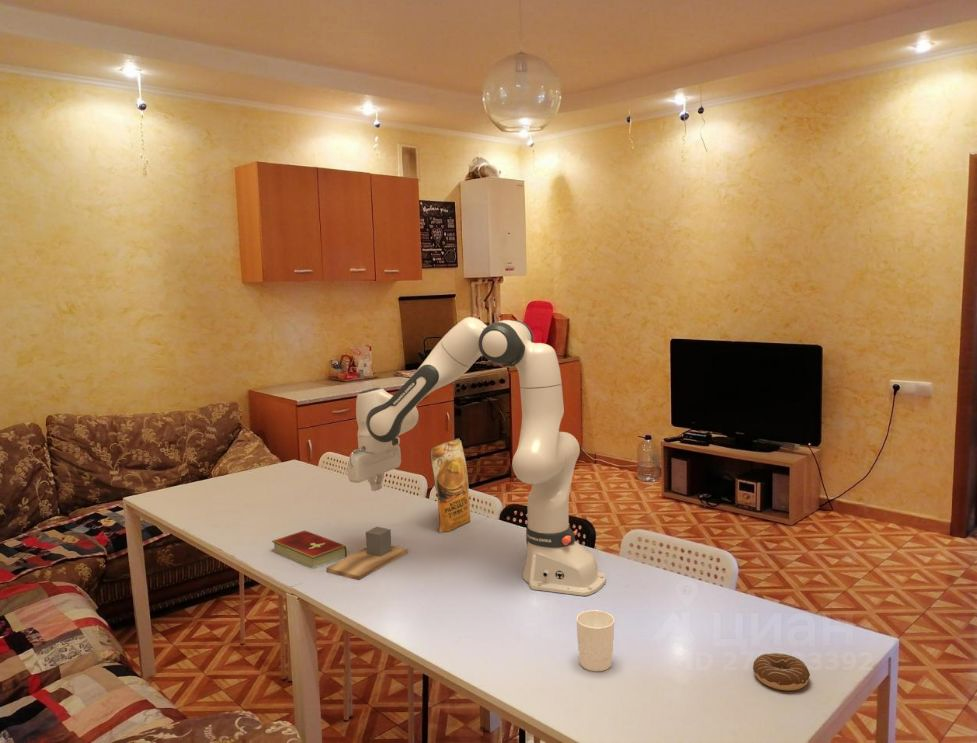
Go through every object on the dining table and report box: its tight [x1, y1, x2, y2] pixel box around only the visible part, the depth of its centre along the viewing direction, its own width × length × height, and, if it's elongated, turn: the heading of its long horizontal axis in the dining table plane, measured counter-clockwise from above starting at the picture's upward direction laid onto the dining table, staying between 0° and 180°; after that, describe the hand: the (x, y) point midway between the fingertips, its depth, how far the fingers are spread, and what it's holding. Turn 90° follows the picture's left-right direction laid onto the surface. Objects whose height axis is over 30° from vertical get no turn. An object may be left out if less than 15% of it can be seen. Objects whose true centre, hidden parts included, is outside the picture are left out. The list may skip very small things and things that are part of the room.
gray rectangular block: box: [365, 526, 392, 557], centre depth 214 cm, size 5×5×7 cm
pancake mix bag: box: [429, 437, 471, 534], centre depth 237 cm, size 7×19×28 cm, turn 144°
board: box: [326, 544, 409, 581], centre depth 210 cm, size 12×22×1 cm, turn 149°
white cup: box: [576, 609, 615, 672], centre depth 153 cm, size 8×8×10 cm
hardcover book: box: [271, 530, 348, 569], centre depth 217 cm, size 12×21×4 cm, turn 48°
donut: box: [752, 652, 811, 692], centre depth 145 cm, size 11×11×4 cm
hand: (376, 489), depth 212 cm, fingers closed
